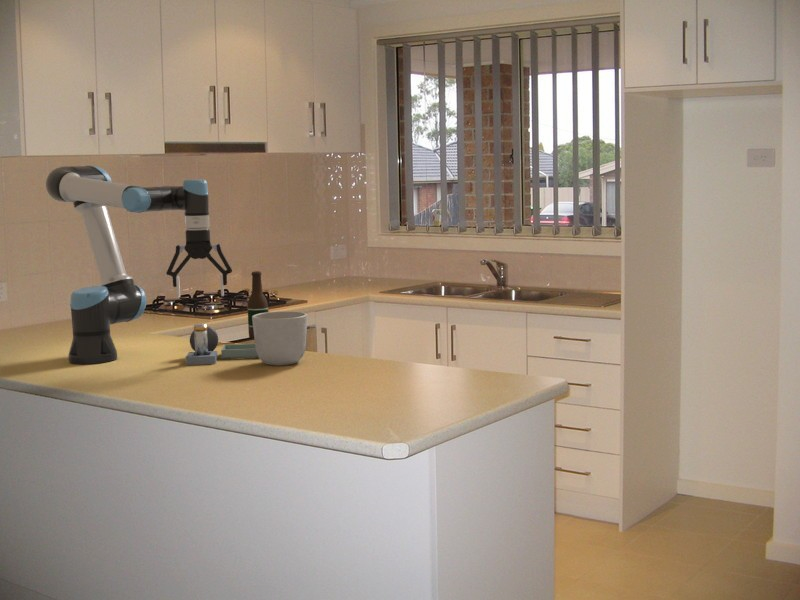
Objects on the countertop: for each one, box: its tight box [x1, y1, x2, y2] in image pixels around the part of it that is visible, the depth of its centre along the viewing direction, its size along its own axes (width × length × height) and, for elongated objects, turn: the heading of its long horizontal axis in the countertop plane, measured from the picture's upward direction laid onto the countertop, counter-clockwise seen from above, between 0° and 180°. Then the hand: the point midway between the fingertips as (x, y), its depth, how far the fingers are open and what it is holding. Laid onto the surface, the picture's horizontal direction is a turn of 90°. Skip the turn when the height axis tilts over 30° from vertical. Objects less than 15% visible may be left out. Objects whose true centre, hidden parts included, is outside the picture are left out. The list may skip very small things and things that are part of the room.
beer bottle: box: [247, 270, 269, 340], centre depth 363 cm, size 8×8×24 cm
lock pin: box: [193, 323, 208, 356], centre depth 320 cm, size 4×4×12 cm
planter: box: [252, 310, 308, 367], centre depth 314 cm, size 17×17×15 cm
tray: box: [220, 343, 260, 360], centre depth 329 cm, size 14×10×3 cm
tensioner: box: [185, 325, 219, 366], centre depth 324 cm, size 9×17×10 cm, turn 5°
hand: (200, 296), depth 319 cm, fingers open, 13 cm apart
